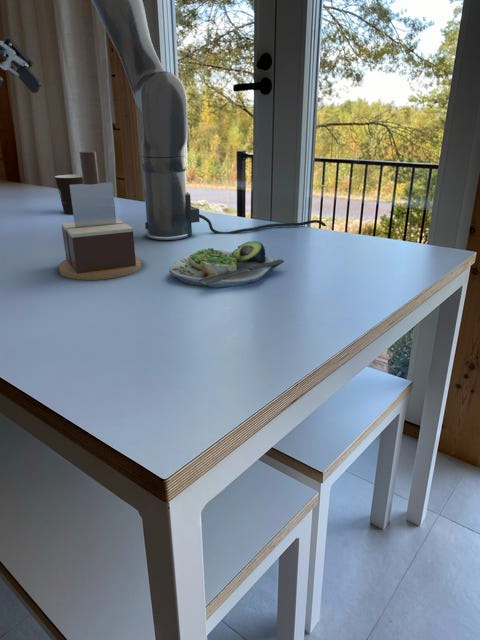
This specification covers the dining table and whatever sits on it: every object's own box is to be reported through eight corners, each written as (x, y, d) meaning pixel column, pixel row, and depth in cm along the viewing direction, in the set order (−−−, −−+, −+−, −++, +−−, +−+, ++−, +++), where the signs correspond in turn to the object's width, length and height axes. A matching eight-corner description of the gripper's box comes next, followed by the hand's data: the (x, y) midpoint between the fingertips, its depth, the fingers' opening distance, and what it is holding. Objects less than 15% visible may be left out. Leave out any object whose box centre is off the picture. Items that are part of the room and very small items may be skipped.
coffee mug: (86, 215, 131) (81, 177, 127) (55, 215, 131) (49, 177, 127) (98, 208, 142) (94, 173, 138) (69, 208, 142) (65, 173, 138)
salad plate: (252, 301, 69) (252, 270, 68) (147, 286, 75) (144, 258, 74) (289, 266, 86) (290, 241, 84) (200, 256, 92) (200, 232, 90)
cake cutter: (114, 222, 84) (107, 150, 80) (118, 224, 82) (111, 151, 78) (73, 225, 81) (63, 152, 77) (76, 228, 79) (66, 152, 75)
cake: (128, 254, 94) (124, 215, 91) (151, 272, 82) (148, 229, 79) (53, 263, 87) (47, 222, 84) (67, 284, 76) (60, 238, 73)
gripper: (-84, -25, 68) (-5, 63, 69) (-7, -2, 80) (59, 72, 81) (-101, 20, 71) (-26, 104, 72) (-25, 36, 84) (39, 106, 85)
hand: (19, 87), depth 77 cm, fingers open, 8 cm apart
